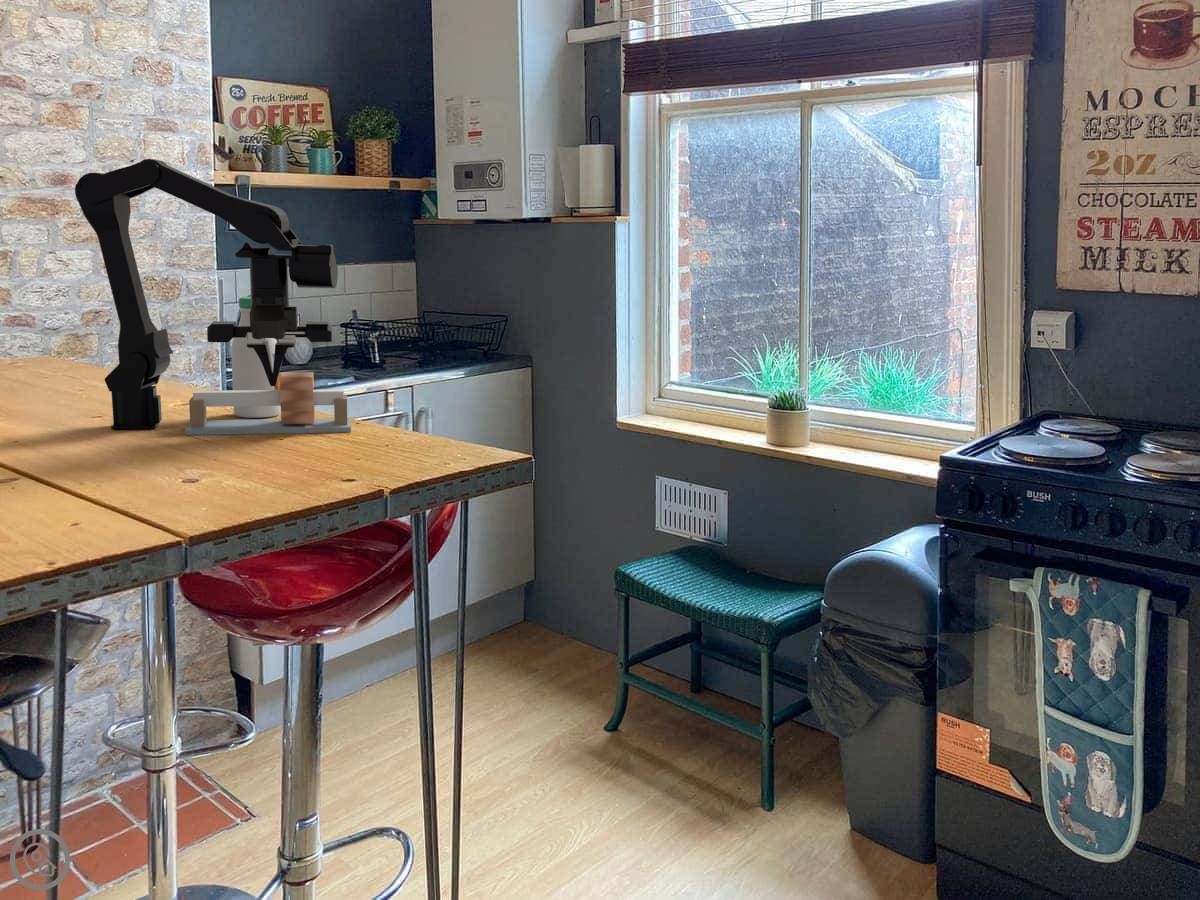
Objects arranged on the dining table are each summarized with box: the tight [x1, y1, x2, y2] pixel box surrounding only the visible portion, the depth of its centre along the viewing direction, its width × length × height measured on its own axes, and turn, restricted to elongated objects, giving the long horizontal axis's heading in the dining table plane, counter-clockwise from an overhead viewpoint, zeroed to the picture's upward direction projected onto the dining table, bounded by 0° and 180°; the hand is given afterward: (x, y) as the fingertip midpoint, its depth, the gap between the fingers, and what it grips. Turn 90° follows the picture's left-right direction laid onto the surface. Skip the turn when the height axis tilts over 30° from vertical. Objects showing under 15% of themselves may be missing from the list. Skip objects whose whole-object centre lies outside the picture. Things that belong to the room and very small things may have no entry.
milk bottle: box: [231, 296, 281, 419], centre depth 193 cm, size 8×8×20 cm
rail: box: [184, 389, 352, 436], centre depth 182 cm, size 25×8×6 cm, turn 102°
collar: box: [280, 371, 316, 424], centre depth 183 cm, size 5×6×7 cm
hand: (273, 386), depth 182 cm, fingers closed
